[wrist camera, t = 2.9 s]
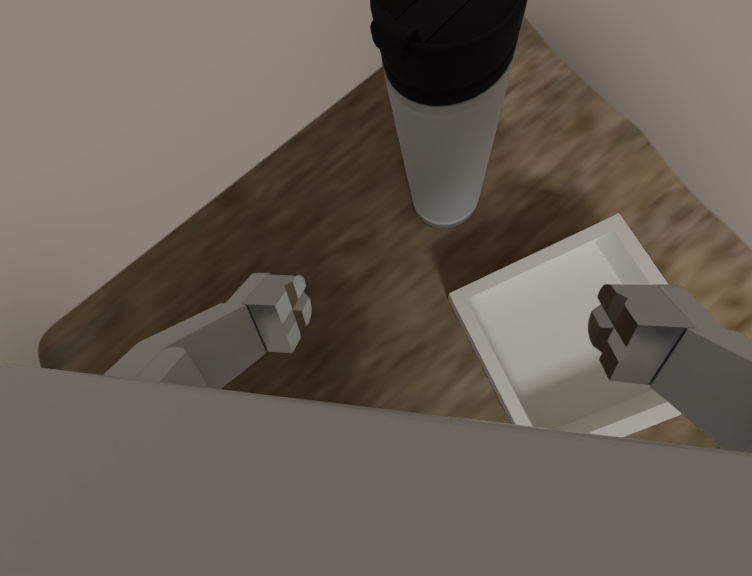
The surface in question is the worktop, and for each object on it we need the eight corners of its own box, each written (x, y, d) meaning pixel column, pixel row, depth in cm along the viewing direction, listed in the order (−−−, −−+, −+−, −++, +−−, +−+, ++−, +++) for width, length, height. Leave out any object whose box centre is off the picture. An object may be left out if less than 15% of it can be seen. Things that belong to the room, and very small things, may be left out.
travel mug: (397, 204, 32) (328, -1, 13) (444, 157, 32) (446, -125, 12) (443, 244, 30) (442, 81, 11) (492, 195, 30) (579, -60, 11)
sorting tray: (695, 382, 25) (742, 391, 21) (524, 450, 26) (538, 469, 22) (594, 230, 28) (618, 213, 24) (448, 299, 30) (448, 293, 26)
